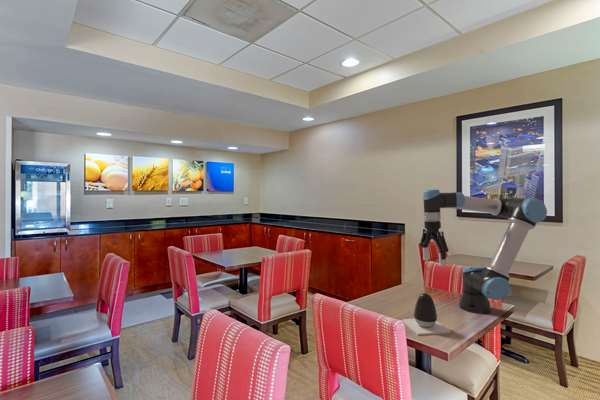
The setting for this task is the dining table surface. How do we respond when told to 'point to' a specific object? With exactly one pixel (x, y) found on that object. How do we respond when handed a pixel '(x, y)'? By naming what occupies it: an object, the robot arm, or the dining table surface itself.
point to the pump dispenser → (425, 311)
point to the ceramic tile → (425, 328)
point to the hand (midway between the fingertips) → (433, 263)
